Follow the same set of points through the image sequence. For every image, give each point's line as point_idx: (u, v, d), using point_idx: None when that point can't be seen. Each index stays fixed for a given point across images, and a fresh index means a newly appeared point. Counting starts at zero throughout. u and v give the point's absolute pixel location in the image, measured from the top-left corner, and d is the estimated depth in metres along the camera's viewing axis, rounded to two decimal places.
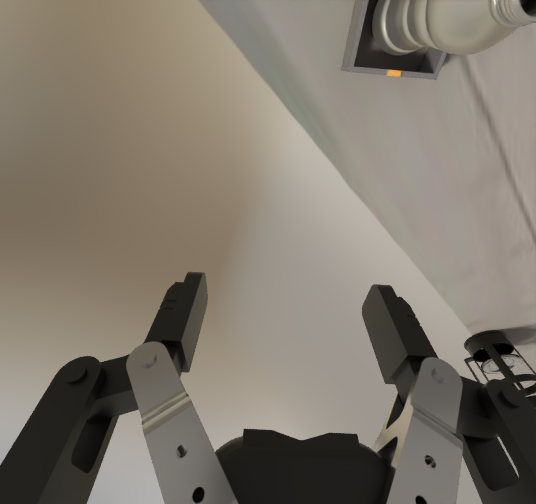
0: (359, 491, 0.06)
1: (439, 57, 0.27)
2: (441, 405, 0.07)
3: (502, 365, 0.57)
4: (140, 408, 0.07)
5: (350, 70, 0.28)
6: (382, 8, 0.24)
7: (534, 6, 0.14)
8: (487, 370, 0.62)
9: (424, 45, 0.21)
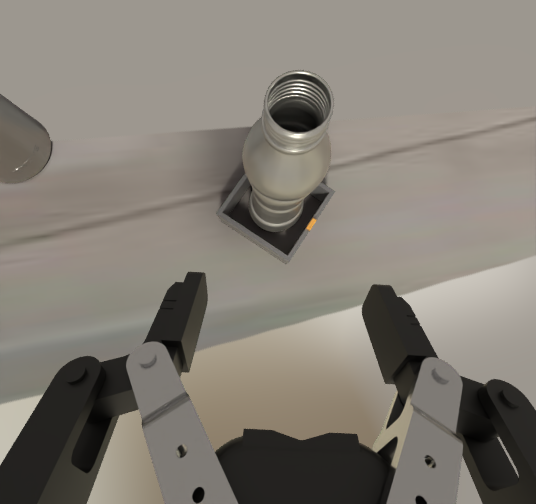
0: (359, 491, 0.06)
1: (318, 186, 0.30)
2: (441, 405, 0.07)
3: None
4: (140, 408, 0.07)
5: (289, 259, 0.29)
6: (260, 222, 0.28)
7: (316, 120, 0.15)
8: None
9: (301, 201, 0.22)
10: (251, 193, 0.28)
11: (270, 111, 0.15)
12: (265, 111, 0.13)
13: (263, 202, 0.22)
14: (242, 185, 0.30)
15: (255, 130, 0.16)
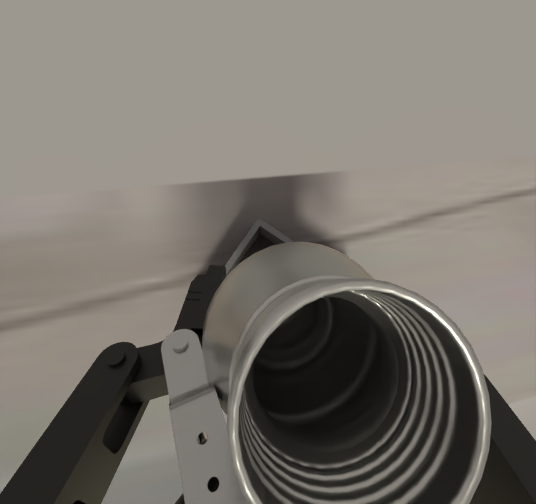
0: None
1: None
2: None
3: None
4: (169, 389, 0.07)
5: None
6: None
7: (382, 338, 0.06)
8: None
9: None
10: None
11: None
12: None
13: None
14: None
15: (224, 330, 0.07)
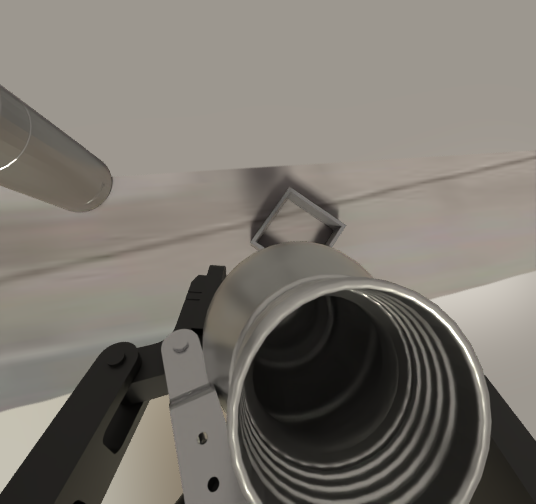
0: None
1: (332, 221, 0.37)
2: None
3: None
4: (169, 389, 0.07)
5: None
6: None
7: (383, 338, 0.06)
8: None
9: None
10: None
11: None
12: None
13: None
14: (271, 219, 0.37)
15: (224, 329, 0.07)
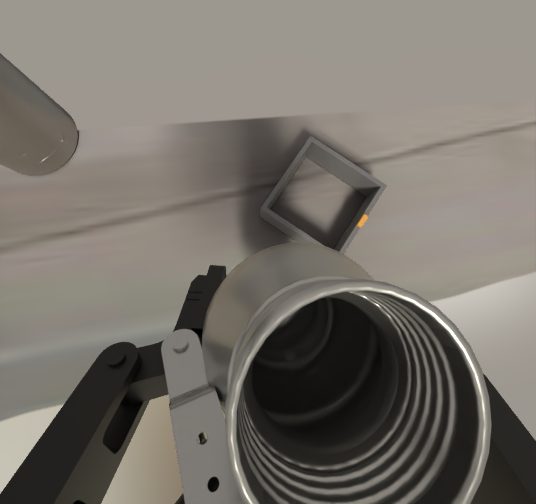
0: None
1: (368, 180, 0.28)
2: None
3: None
4: (169, 389, 0.07)
5: None
6: None
7: (382, 339, 0.06)
8: None
9: None
10: None
11: None
12: None
13: None
14: (287, 178, 0.28)
15: (224, 330, 0.07)
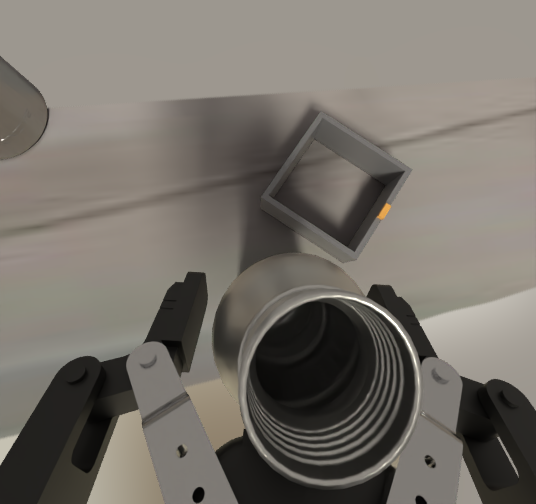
0: (359, 491, 0.06)
1: (390, 163, 0.23)
2: (441, 405, 0.07)
3: None
4: (140, 408, 0.07)
5: (356, 256, 0.22)
6: None
7: (358, 334, 0.07)
8: None
9: (314, 353, 0.14)
10: None
11: None
12: None
13: None
14: (293, 161, 0.23)
15: (232, 328, 0.08)
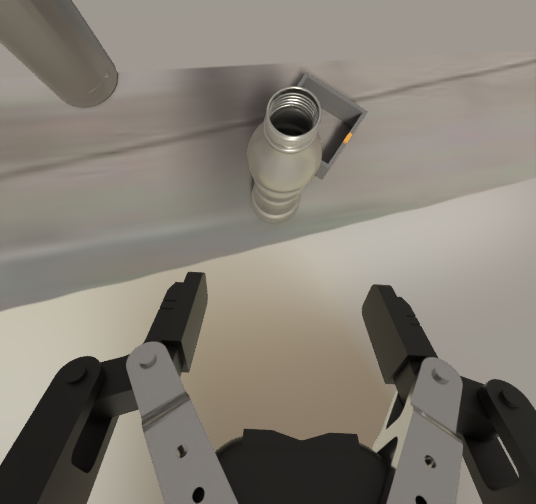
0: (359, 491, 0.06)
1: (353, 108, 0.35)
2: (441, 405, 0.07)
3: None
4: (140, 408, 0.07)
5: (329, 167, 0.33)
6: (261, 214, 0.32)
7: (308, 125, 0.18)
8: None
9: (297, 194, 0.26)
10: (253, 188, 0.31)
11: (270, 118, 0.18)
12: (266, 119, 0.16)
13: (264, 195, 0.25)
14: None
15: (258, 133, 0.19)
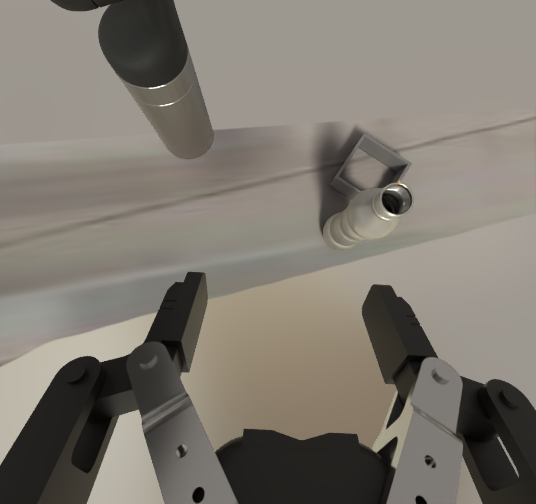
0: (359, 491, 0.06)
1: (400, 160, 0.45)
2: (441, 405, 0.07)
3: None
4: (140, 408, 0.07)
5: None
6: (334, 244, 0.42)
7: (398, 201, 0.29)
8: None
9: None
10: (328, 225, 0.42)
11: None
12: (380, 203, 0.26)
13: (349, 236, 0.35)
14: (349, 159, 0.45)
15: (362, 203, 0.30)
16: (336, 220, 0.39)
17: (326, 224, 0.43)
